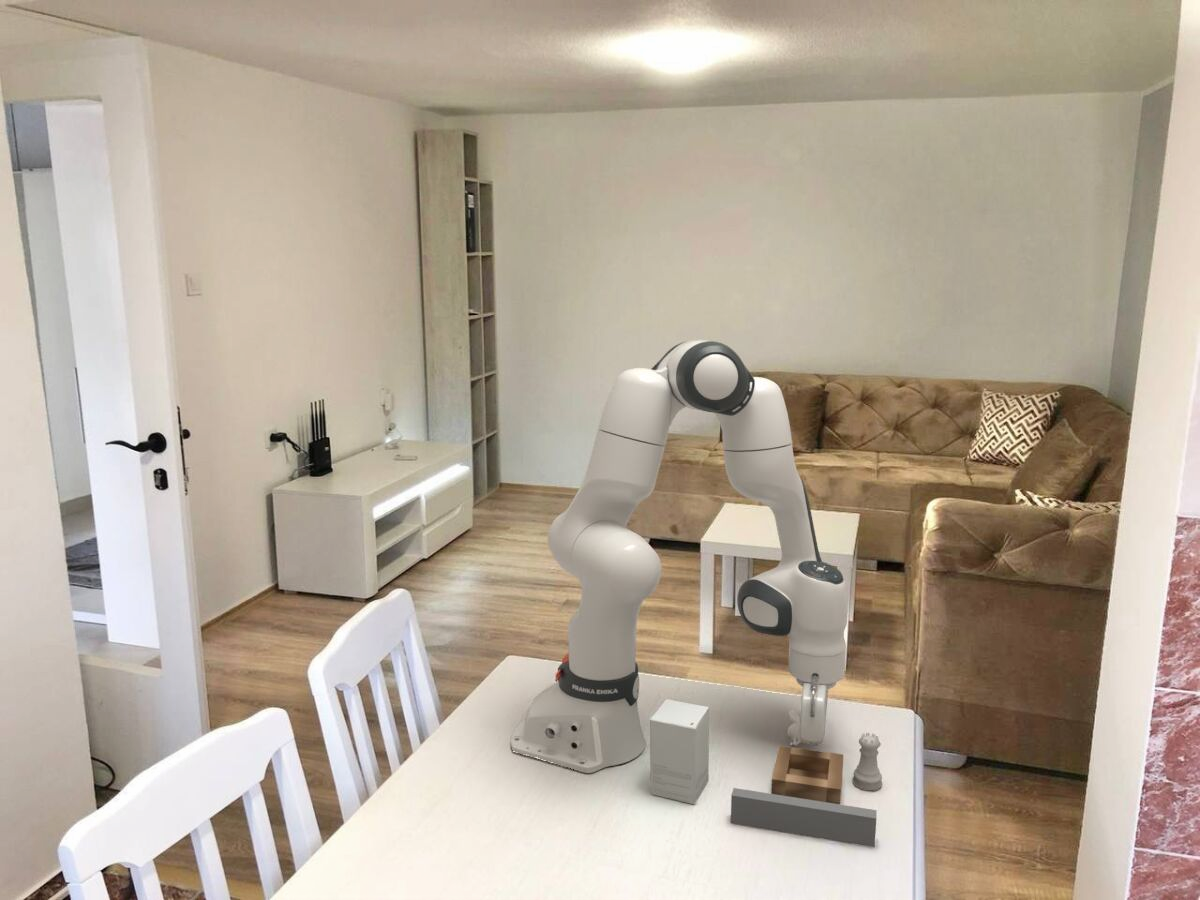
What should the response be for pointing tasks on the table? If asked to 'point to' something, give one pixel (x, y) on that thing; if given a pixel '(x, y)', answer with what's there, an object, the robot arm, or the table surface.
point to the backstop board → (804, 817)
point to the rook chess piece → (868, 764)
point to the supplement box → (679, 751)
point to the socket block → (808, 774)
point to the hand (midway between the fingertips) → (813, 740)
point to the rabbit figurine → (794, 728)
